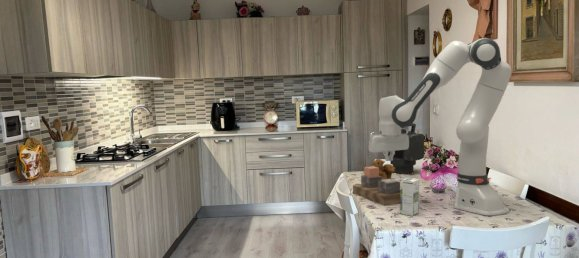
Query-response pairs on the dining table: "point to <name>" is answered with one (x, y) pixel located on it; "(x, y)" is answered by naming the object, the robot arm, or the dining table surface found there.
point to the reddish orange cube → (371, 171)
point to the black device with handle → (409, 153)
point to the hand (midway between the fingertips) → (389, 160)
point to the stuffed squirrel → (384, 169)
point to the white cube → (389, 181)
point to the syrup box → (409, 196)
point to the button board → (378, 190)
